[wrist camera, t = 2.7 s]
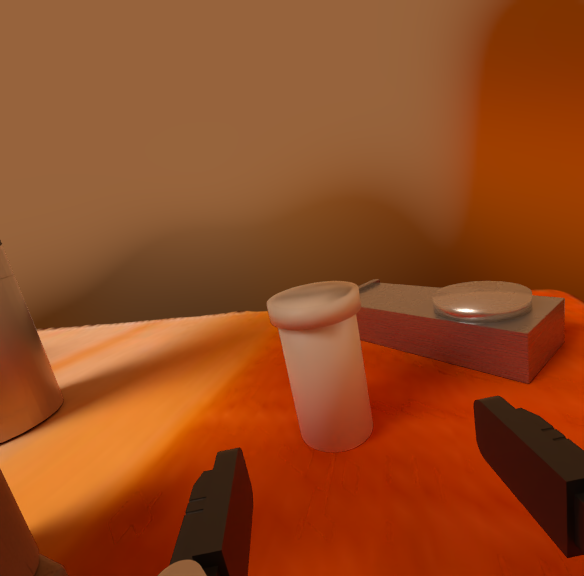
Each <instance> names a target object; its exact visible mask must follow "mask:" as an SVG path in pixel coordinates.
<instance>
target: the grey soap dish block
mask: <svg viewBox="0 0 584 576" xmlns="http://www.w3.org/2000/svg"><path fill="white" fill-rule="evenodd" d="M358 288H359V295H360V301H361V309H360V310H359V312H358V313H357V314H356V317H357V323H358V330H359V336H360V340H363V341H367V342H371V343H375V344H378V345H382V346H386V347H390V348H394V349H398V350H401V351H405V352H409V353H413V354H417V355H420V356H424V357H428V358H432V359H436V360H439V361H443V362H447V363H451V364H455V365H459V366H462V367H466V368H470V369H474V370H478V371H481V372H485V373H489V374H493V375H497V376H500V377H504V378H508V379H512V380H516V381H519V382H523V383H527V384H529V383H530V382H531V381H532V380H533V379H534V377H535V376H536V375H537V374H538V373H539V371H540V370H541V369H542V368H543V367H544V366H545V364H546V363H547V362H548V361H549V360H550V358H551V357H552V356H553V355H554V354H555V352H556V351H557V350H558V349H559V348H560V347H561V345H562V344H563V343H564V302H565V298H557V297H545V296H532V291H531V290H530V289H529V288H527V287H525V286H523V285H519V284H515V283H509V282H500V281H475V282H466V283H459V284H454V285H450V286H446V287H444V288H436V287H423V286H411V285H399V284H387V283H380V280H379V279H374V280H371V281H369V282H367V283H364V284H362V285H360V286H358Z"/></svg>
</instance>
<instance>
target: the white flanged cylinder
mask: <svg viewBox="0 0 584 576" xmlns="http://www.w3.org/2000/svg"><path fill="white" fill-rule="evenodd" d="M267 308H268V313H269V317H270V322H271V324H272V325H273V326H275V327H277V328H278V330H279V334H280V339H281V344H282V348H283V353H284V357H285V362H286V367H287V371H288V376H289V381H290V385H291V390H292V394H293V399H294V404H295V408H296V413H297V418H298V422H299V427H300V432H301V436H302V438H303V440H304V441H305V443H306V444H307V445H309V446H310V447H312V448H314V449H316V450H319V451H323V452H343V451H347V450H350V449H353V448H355V447H357V446H359V445H361V444H362V443H363V442H365V441H366V440H367V439H368V437H369V436H370V434H371V433H372V430H373V420H372V414H371V407H370V401H369V394H368V388H367V381H366V375H365V368H364V362H363V356H362V349H361V343H360V336H359V330H358V323H357V317H356V314H357V313H358V312H359V310H360V309H361V301H360V295H359V288H358V286H357V285H356V284H354V283H351V282H346V281H326V282H318V283H311V284H306V285H301V286H298V287H294V288H291V289H288V290H285V291H283V292H280V293H278V294H276V295H274V296H273V297H271V298H270V299H269V300H268V301H267Z"/></svg>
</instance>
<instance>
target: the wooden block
mask: <svg viewBox="0 0 584 576" xmlns="http://www.w3.org/2000/svg"><path fill="white" fill-rule="evenodd" d="M0 576H68V574H67V572H66V570H65V568H64V566H63V565H61V564H59V563H57V562H55V561H53V560H51V559H49V558H47V557H45V556H43V555H41V554H39V549H38V547H37V545H36V543H35V540H34V538H33V536H32V534H31V532H30V530H29V528H28V526H27V524H26V522H25V520H24V517H23V515H22V513H21V511H20V509H19V507H18V505H17V503H16V501H15V499H14V496H13V494H12V492H11V490H10V488H9V486H8V484H7V482H6V480H5V478H4V476H3V473H2V471H1V469H0Z"/></svg>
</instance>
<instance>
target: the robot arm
mask: <svg viewBox="0 0 584 576" xmlns="http://www.w3.org/2000/svg"><path fill="white" fill-rule="evenodd" d="M1 244H2V243H1V241H0V245H1ZM63 400H64V399H63V396H62V393H61V391H60V388H59V386H58V383H57V381H56V378H55V376H54V373H53V371H52V368H51V365H50V363H49V360H48V358H47V355H46V353H45V350H44V348H43V345H42V343H41V340H40V338H39V335H38V333H37V330H36V328H35V326H34V323H33V320H32V318H31V315H30V313H29V310H28V308H27V305H26V303H25V300H24V298H23V295H22V293H21V291H20V288H19V285H18V283H17V281H16V278H15V276H14V274H13V271H12V268H11V266H10V264H9V261H8V258H7V256H6V254H5V251H4V249H3V246H0V443H2V442H4V441H7V440H9V439H11V438H13V437H15V436H18V435H20V434H22V433H24V432H25V431H27V430H29V429H31V428H33V427H34V426H36V425H38V424H39V423H41V422H42V421H44V420H45V419H47V418H48V417H49V416H51V415H52V414H53V413H54V412H55V411H56V410H58V409H59V407H60V406H61V405H62V403H63ZM474 417H475V429H476V440H477V444H478V447H479V450H480V452H481V454H482V456H483V457H484V459H485V460H486V462H487V463H488V464H489V465H490V466H491V467H492V469H493V470H494V471H495V472H496V473H497V475H498V476H499V477H500V478H501V479H502V481H503V482H504V483H505V484H506V485H507V487H508V488H509V489H510V490H511V491H512V493H513V494H514V495H515V496H516V497H517V499H518V500H519V501H520V502H521V503H522V504H523V506H524V507H525V508H526V509H527V510H528V512H529V513H530V514H531V515H532V516H533V518H534V519H535V520H536V521H537V522H538V524H539V525H540V526H541V527H542V528H543V530H544V531H545V532H546V533H547V534H548V536H549V537H550V538H551V539H552V540H553V541H554V543H555V544H556V545H557V546H558V547H559V549H560V550H561V551H562V552H563V553H564V555H565V556H566V557H567V558H570V557H575V556H580V555H584V450H582V449H581V448H580V447H578V446H577V445H576V444H575V443H573V442H572V441H571V440H569V439H566V437H565V436H564V435H563V434H562V433H560V432H559V431H558V430H557V429H554V428H553V426H551V425H550V424H549V423H548V422H546V421H545V420H544V419H543V418H541V417H540V416H538V415H536V414H534V413H531V412H529V411H527V410H525V409H522V408H518V409H515V408H514V407H513V406H512V405H510V404H509V403H508V402H507V401H506V400H504V399H503V398H502V397H500V396H494V397H489V398H484V399H479V400H475V402H474ZM185 513H186V515H185V516H184V519H183V522H182V525H181V529H180V532H179V535H178V539H177V542H176V545H175V548H174V552H173V555H172V558H171V562H170V565H169V566H168V567H167V568H165V569H164V570H163V571H162V572H161V573H160V574H159V575H158V576H247V575H248V563H249V551H250V538H251V526H252V513H253V493H252V487H251V482H250V479H249V475H248V471H247V468H246V464H245V460H244V456H243V453H242V450H241V448H235V449H230V450H225V451H220V452H218V453H217V456H216V460H215V464H214V468H213V470H209V471H204V472H203V473H202V474H201V476H200V477H199V479H198V480H197V481H196V483H195V484H194V486H193V489H192V492H191V496H190V499H189V503H188V506H187V509H186V512H185Z"/></svg>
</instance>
